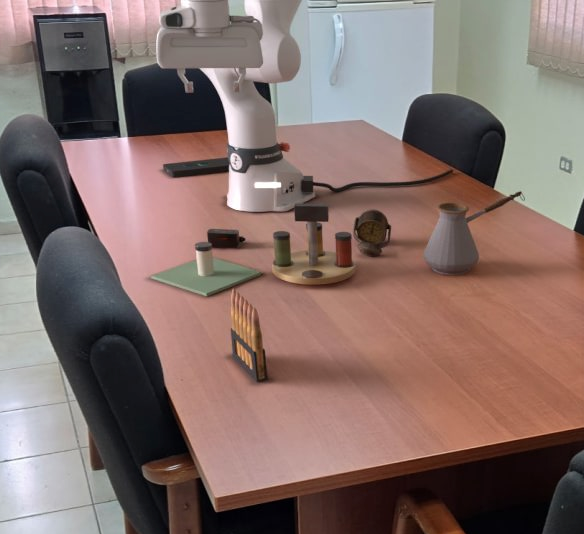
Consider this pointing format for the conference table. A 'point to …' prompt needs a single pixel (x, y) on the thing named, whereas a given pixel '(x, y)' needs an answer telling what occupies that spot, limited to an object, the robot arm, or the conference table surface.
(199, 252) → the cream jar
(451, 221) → the coffee pot
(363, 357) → the conference table surface
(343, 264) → the spice carousel
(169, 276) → the sage mat
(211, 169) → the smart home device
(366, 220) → the vintage desk clock
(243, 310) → the ammunition clip
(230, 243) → the black box with knob
